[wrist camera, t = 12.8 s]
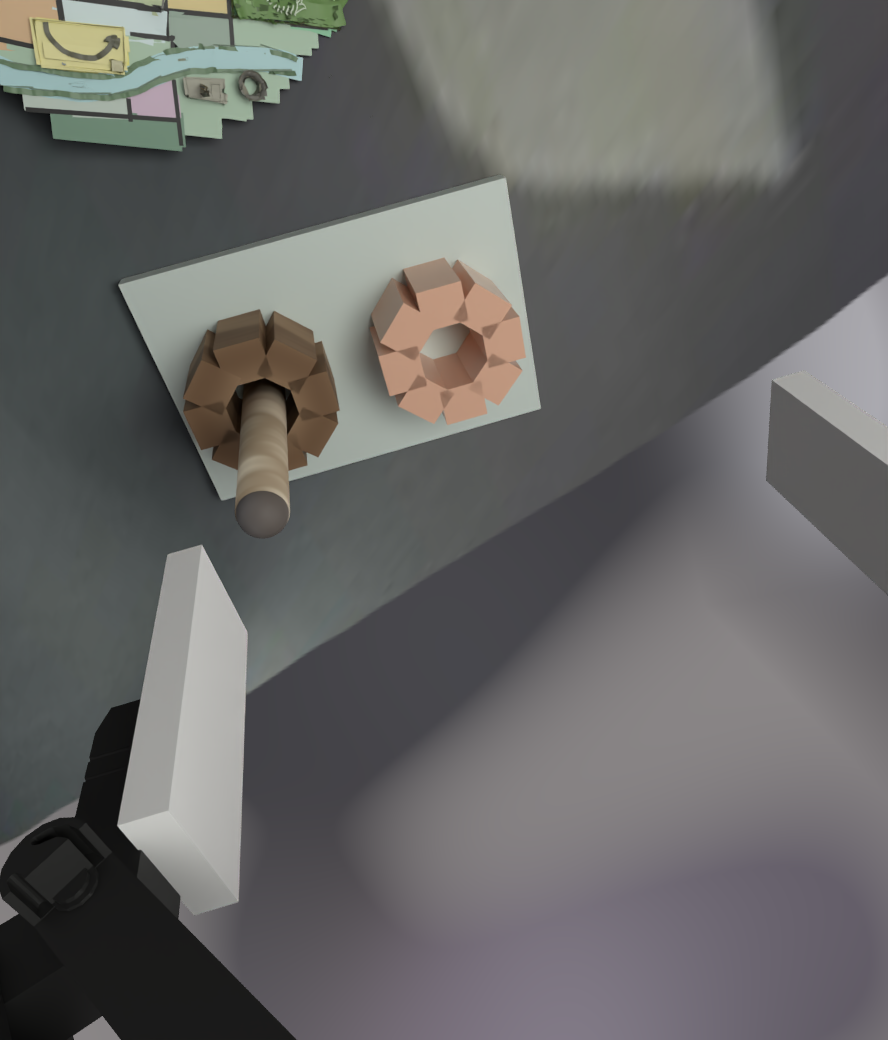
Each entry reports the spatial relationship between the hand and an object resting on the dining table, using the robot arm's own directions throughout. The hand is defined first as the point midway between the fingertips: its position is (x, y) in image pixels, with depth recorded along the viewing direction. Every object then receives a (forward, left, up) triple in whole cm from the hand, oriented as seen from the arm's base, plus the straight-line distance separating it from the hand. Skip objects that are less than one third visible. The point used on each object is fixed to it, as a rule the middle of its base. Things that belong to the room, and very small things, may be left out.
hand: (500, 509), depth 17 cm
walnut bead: (-9, -9, -34) cm, 36 cm away
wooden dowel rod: (-9, -9, -34) cm, 36 cm away
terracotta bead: (+3, -9, -34) cm, 35 cm away
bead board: (-3, -9, -35) cm, 36 cm away
